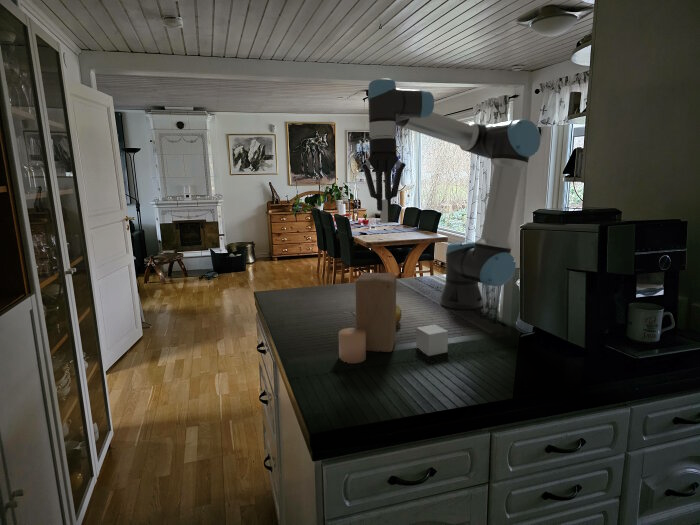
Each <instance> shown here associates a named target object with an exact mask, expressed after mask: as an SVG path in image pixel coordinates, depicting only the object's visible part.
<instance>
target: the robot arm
mask: <svg viewBox="0 0 700 525" xmlns="http://www.w3.org/2000/svg"><path fill="white" fill-rule="evenodd" d="M367 94H368V95H367V101H368V128H369V129H368V132H369V134H368V137H369V138H371V139H369V156H368V158H367V161H366V162H365V163H362V164H361V165H360V169H361V170H362V171H363V173H364V177H365V180H366V186H367V187H368V188H367V189H368V192H369V196H370V198H373V199H375V200H376V209H377V211H378V212H379V213H380V214H379V215H380V216H379V217H380V221H379V222H380V223H383V224H384V223H389V221H388V220H389V213H388V212H389V211H391V209H392V204H391V202H392V199H393V198H395V197H398V194H399V193H398V192H399V187H400V184H401V178H402V175H403V174H402V173H403V171H404V168H405V167H406V163H404V162H402V161H400V160H399V157H398V156H397V139H395V137H396V136H397V126H398V127H400V128H404V129H407V130H410V131H413V132H416V133H419V134H423V135H425V136H429V137H431V138H433V139H437V140H440V141H444V142H447V143H451V144H453V145H456V146H459V148H460V150H462V151H465V152H467V153H470V154H474V155H476V156H480V157H483V158H486V159H490V162H491V163H492V165H493V173H492V177H491V183H490V188H489V192H488V193H489V194H488V199H487V205H486V208H485V214H484V220H483V225H482V231H481V237H480V238H479V239H478V240H476V241H468V242H467V241H466V242H453V243H449V244H447V246H446V252H445V284H444V287H443V289H442V292H441V295H440V300H439V302H440V305H441V306H444V307H446V308H448V309H455V310H476V309H479V308H481V307H482V306H483V297H482V292H481V290H480V287H479V283H481V284H483V285H485V286H491V287H501V286H504V285H505V284H507V282H509V281H510V280H512V277H513V276H514V274H515V271H516V267H517V266H516V261H515V257H513V255H512V254H511V253H512V252H511V251H512V246H511V245H510V244H509V242H508V241H509V236H510V232H511V231H510V230H511V225H512V222H513V216H514V211H515V206H516V201H517V197H518V196H517V195H518V190H519V186H520V181H521V180H520V179H521V175H522V170H523V169H525V167H527V166H529V165H528V164H529V160H530V158H531V157H532V156H534V155H535V154H536V153H537V152H538V151H539V149H540V146H541V134H540V130H539V129H538V127H537V125H536V124H535V123H534V122H533V121H532V120H529V119H527V118H526V119H525V118H521V119H518V118H515V119H513V120H508V121H501V122H497V123H490V124H480V123H476V122H469V123H466V122H464V121H461V120H458V119H455V118H452V117H450V116H447V115H444V114H441V113H438V112H435V111H434V108H435V97H434V95H433V93H432V92H431V91H429V90H423V89H406V88H405V89H404V88H398V87H397V85H396V82H395V80H394V79H391V78H376V79H373V80H372V81H370V82H369V84H368V90H367ZM371 167H372V169H373V170H374V173H375V183H374V180H373V177H372V173H371ZM394 167H395V172H394V177H393V182H392V170H393V169H394ZM383 175H384V199H383Z"/></svg>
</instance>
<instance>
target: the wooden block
mask: <svg viewBox="0 0 700 525" xmlns="http://www.w3.org/2000/svg"><path fill="white" fill-rule="evenodd" d="M396 304H397V275H396V274H395V273H387V272H363V273H361V274H360V275H359V276H358V278H357V279H356V280H355V328H359V329H363V330H365V331H366V352H367V351H368V352H380V351H381V353H391V352H392V351H393V350H394V345H395V343H396V340H397V339H396V338H397V337H396V336H397V332H396V331H397V330H396V328H397V325H396Z"/></svg>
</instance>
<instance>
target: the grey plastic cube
mask: <svg viewBox="0 0 700 525" xmlns="http://www.w3.org/2000/svg"><path fill="white" fill-rule="evenodd" d="M415 331H416V332H415V334H416V339H415V340H416V341H415V348H416V347H417V348H419V349H420V350H421V351H422V353H423V354H425V355H426V356H428V357H431V356H435V355H440V354H445V353H448V348H449V347H448V343H449V341H448V340H449V337H448V336H449V331H448V330H446V329H445V328H442V327H441V326H439V325H437V324H429V325H424V326H419V327H416V330H415ZM417 348H416V349H417ZM420 350H419V351H420ZM421 351H420V352H421Z"/></svg>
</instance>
